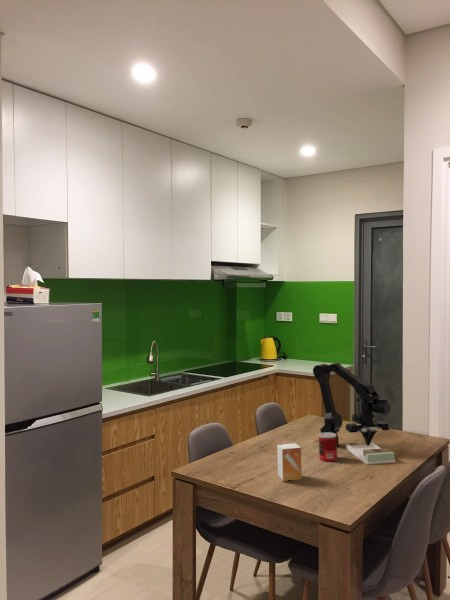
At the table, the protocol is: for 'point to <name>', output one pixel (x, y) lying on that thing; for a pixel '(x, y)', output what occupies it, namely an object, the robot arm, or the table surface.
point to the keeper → (374, 451)
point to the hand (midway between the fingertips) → (367, 445)
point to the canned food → (327, 446)
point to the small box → (289, 462)
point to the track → (360, 452)
